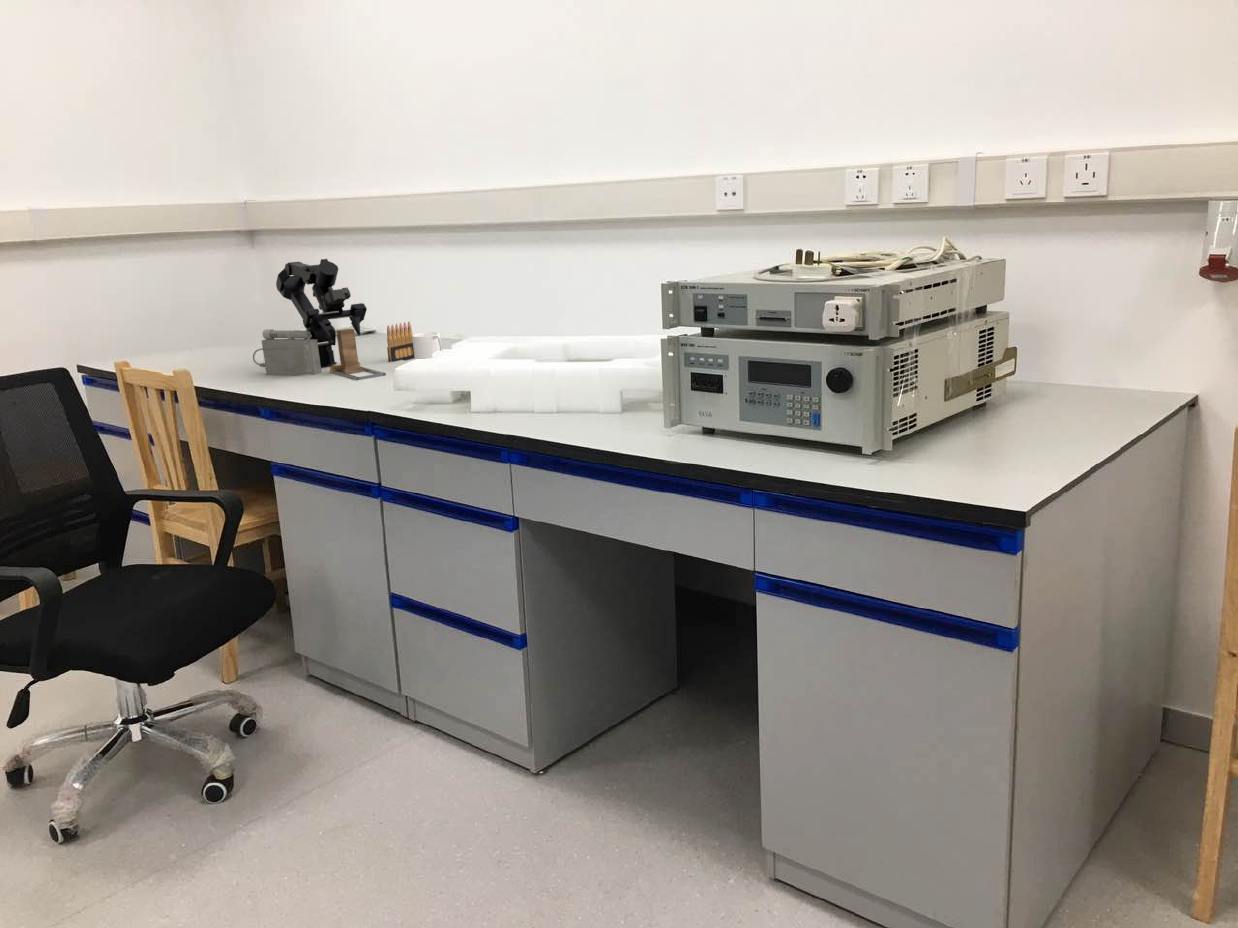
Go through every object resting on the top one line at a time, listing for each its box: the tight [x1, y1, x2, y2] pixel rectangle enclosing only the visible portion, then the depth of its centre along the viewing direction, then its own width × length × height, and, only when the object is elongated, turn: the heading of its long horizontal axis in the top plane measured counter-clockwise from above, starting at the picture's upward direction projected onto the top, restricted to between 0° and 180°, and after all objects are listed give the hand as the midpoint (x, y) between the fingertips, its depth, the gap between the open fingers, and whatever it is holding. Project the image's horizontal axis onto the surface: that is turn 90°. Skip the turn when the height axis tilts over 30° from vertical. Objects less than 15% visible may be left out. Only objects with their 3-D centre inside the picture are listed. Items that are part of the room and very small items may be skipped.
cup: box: [412, 332, 443, 360], centre depth 305 cm, size 8×12×10 cm
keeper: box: [335, 328, 364, 375], centre depth 303 cm, size 6×6×13 cm
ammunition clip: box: [386, 321, 415, 363], centre depth 322 cm, size 11×2×12 cm, turn 145°
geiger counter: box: [252, 328, 323, 377], centre depth 309 cm, size 14×6×25 cm
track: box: [329, 361, 387, 381], centre depth 300 cm, size 21×9×2 cm, turn 36°
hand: (345, 336), depth 302 cm, fingers open, 9 cm apart
